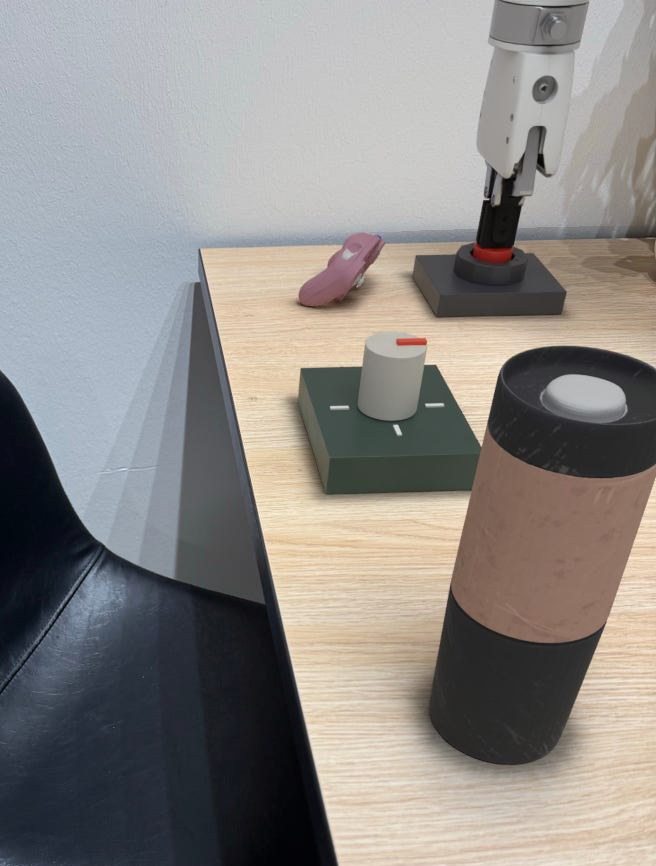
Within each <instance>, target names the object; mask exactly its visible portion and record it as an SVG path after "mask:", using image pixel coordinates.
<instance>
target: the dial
mask: <svg viewBox="0 0 656 866" xmlns="http://www.w3.org/2000/svg"><path fill="white" fill-rule="evenodd" d="M427 350H428V340H427V338H426V337H419V336H417V335H415V334H411V333H406V332H402V331H382V332H377V333H373V334H372V335H370V336H368V337H367V338H366V339H365V342H364V350H363V358H362V364H361V366H362V372H361V380H360V388H359V396H358V408H359V410H360V411H361V412H362V413H364V414H365V415H367V416H369V417H372V418H375V419H378V420H384V421H398V420H404V419H407V418H410V417H411V416H413V415H414V414H415V413H416V411H417V405H418V399H419V393H420V387H421V381H422V375H423V369H424V365H425V363H426V357H427Z"/></svg>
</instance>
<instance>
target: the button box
mask: <svg viewBox="0 0 656 866" xmlns="http://www.w3.org/2000/svg"><path fill="white" fill-rule="evenodd" d="M475 243H476V241H474V242H471V243H466V244H463V245H461V246H460V247H459V248H458V250H457V251H455V254H415V256H414V263H413V270H412V278H413V280H414V282H415V284H416V285H417V287H418V288H419V290H420V292H421V294H422V295H423V297H424V298H425V300H426V301H427V303H428V305H429V307H430V308H431V310H432V312H433V313H434V315H435V317H437V318H445V317H446V318H447V317H449V318H450V317H491V316H492V317H493V316H496V317H497V316H536V315H562V313H563V309H564V305H565V301H566V297H567V293H568V290H566V289H565V288H564V286H563V285H562V284H561V283H560V282H559V281H558V279H557V278H556V277H555V276H554V275H553V274H552V273H551V272H550V270H549V269H548V268H547V267H546V265H545V264H543V262H542V261H541V260H540V259H539V257H538V256H537V255H536V254H535V253H534V252H525V251H524V250H523V249H521V248H518V247H515V246H513V252H512V257H511V260H510V261H506V262H487V261H482V260H479V259H477V258H474V257H472V256H473V250H474V245H475Z"/></svg>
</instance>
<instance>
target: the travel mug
mask: <svg viewBox="0 0 656 866" xmlns="http://www.w3.org/2000/svg"><path fill="white" fill-rule="evenodd" d="M494 387H495V388H494V392H493V396H492V400H491V404H490V409H489V414H488V418H487V421H486V427H485V431H484V435H483V439H482V444H481V447H482V448H481V452H480V457H479V461H478V465H477V470H476V474H475V478H474V483H473V487H472V490H470V496H469V500H468V504H467V509H466V514H465V517H464V521H463V527H462V531H461V535H460V538H459V544H458V548H457V552H456V557H455V561H454V565H453V569H452V570H453V571H452V574H451V577H450V578H451V579H450V585H449V589H448V593H447V594H448V595H447V601H446V607H445V611H444V616H443V617H444V618H443V623H442V628H441V632H440V633H441V634H440V640H439V645H438V650H437V655H436V656H437V657H436V662H435V667H434V673H433V679H432V685H431V691H430V697H429V698H430V699H429V713H430V719H431V721H432V724H433V726H434V727H435V729H436V731H437V732H438V734H439V735H440V736H441V737H442V738H443V739H444V740H445V741H446V742H447V743H448V744H449V745H451V746H452V747H454V748H455V749H457V750H458V751H460V752H462V753H463V754H465V755H467V756H470V757H473V758H475V759H478V760H479V761H485V762H487V763H494V764H500V765H519V764H526V763H530V762H534V761H536V760H540V759H541V758H543V757H545V756H546V755H547V754H549V753H551V751H552V750H553V749H554V748H555V746H556V745H557V744H558V742H559V741H560V739H561V736H562V735H563V732H564V730H565V727H566V725H567V723H568V720H569V718H570V715H571V714H572V710H573V708H574V706H575V703H576V700H577V698H578V695H579V693H580V691H581V688H582V685H583V683H584V681H585V678H586V675H587V673H588V671H589V667H590V665H591V663H592V660H593V658H594V655H595V653H596V651H597V648H598V645H599V643H600V640H601V637H602V636H603V633H604V630H605V627H606V625H607V622H608V619H609V618H610V614H611V611H612V609H613V606H614V602H615V600H616V596H617V593H618V591H619V588H620V584H621V582H622V579H623V576H624V573H625V570H626V567H627V564H628V561H629V558H630V555H631V552H632V549H633V546H634V544H635V540H636V538H637V534H638V531H639V529H640V526H641V523H642V521H643V516H644V513H645V510H646V508H647V504H648V501H649V499H650V496H651V493H652V490H653V487H654V484H655V481H656V367H655V366H653V365H651V364H650V363H648V362H645V361H643V360H641V359H639V358H635V357H633V356H630V355H629V354H628V355H627V354H623V353H620V352H616V351H612V350H608V349H604V348H598V347H590V346H582V345H548V346H540V347H534V348H531V349H526V350H524V351H521V352H518V353H516V354H514V355H512V356H510V358H508V359H507V360H506V361H505V362H503V364H502V366H501V368H500V370H499V372H498V375H497V379H496V383H495V386H494Z"/></svg>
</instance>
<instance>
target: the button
mask: <svg viewBox="0 0 656 866" xmlns="http://www.w3.org/2000/svg"><path fill="white" fill-rule="evenodd" d="M475 242H476V241H475ZM513 247H514V246H513ZM513 247H512V248H494V249H482V248H481V247H480V245H479V244H478V243H477V242H476V243H475V245H474V250H473V256H472V257H474V258H477V259H479V260H482V261H487V262H506V261H510V260H511V257H512V252H513Z"/></svg>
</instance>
